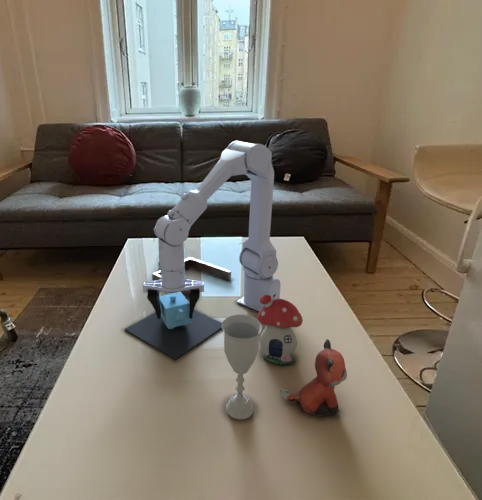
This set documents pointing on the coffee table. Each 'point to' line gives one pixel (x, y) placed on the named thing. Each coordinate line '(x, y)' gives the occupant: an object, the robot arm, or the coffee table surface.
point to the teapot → (175, 310)
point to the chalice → (240, 358)
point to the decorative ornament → (278, 330)
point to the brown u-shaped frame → (203, 267)
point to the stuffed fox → (322, 384)
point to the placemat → (175, 333)
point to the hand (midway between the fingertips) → (175, 316)
